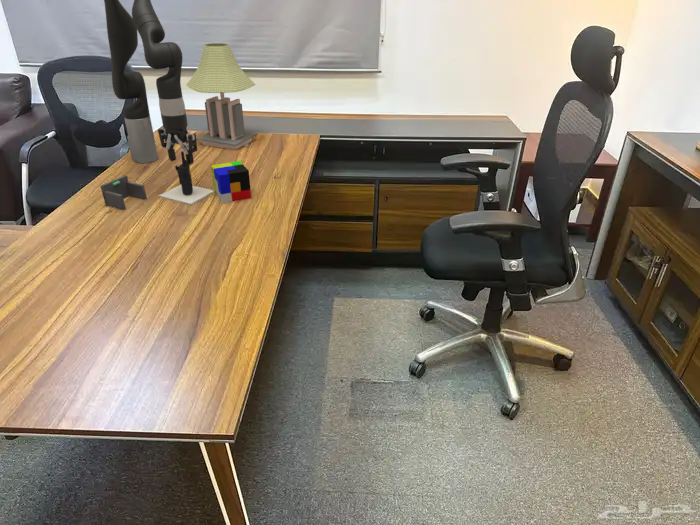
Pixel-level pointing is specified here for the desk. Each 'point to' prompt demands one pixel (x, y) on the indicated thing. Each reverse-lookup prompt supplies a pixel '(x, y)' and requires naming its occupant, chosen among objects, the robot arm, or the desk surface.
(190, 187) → the two-way radio
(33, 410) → the desk surface
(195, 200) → the mat
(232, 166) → the puzzle toy
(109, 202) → the dock
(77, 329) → the desk surface
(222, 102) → the desk lamp
